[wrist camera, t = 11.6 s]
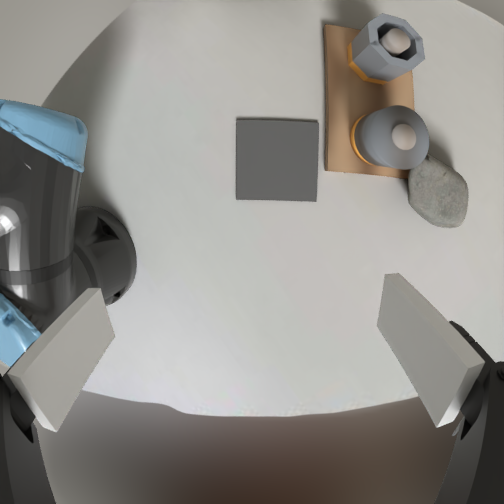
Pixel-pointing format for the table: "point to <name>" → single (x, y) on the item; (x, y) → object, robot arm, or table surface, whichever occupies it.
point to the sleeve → (383, 51)
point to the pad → (277, 160)
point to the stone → (438, 193)
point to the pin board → (355, 103)
